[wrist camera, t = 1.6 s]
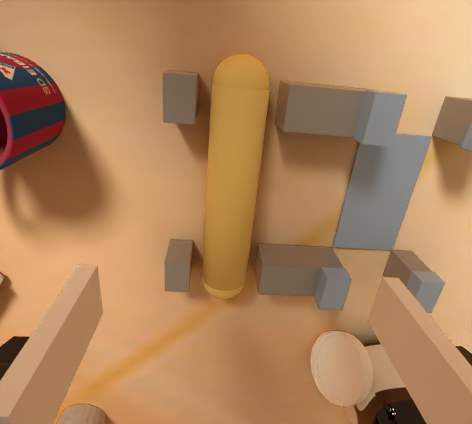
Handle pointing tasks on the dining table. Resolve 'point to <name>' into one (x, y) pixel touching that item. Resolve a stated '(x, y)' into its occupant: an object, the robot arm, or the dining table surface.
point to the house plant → (82, 415)
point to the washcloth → (1, 279)
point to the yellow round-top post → (233, 171)
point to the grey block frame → (358, 192)
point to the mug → (27, 108)
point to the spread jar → (361, 380)
